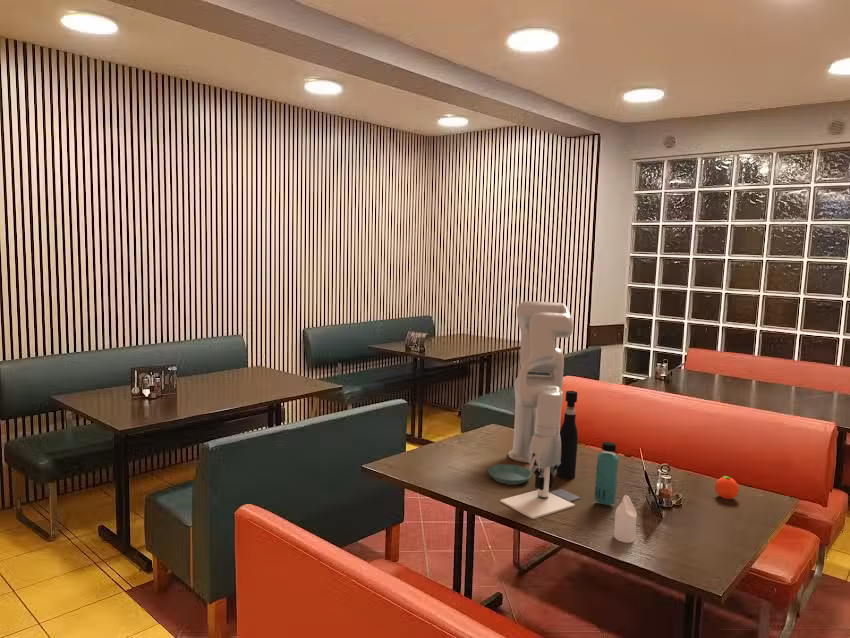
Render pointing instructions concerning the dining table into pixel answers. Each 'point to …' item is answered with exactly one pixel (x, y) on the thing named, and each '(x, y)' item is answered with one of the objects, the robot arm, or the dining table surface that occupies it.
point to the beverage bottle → (606, 475)
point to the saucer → (509, 474)
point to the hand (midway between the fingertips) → (543, 486)
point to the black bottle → (568, 440)
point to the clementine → (726, 487)
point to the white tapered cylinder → (625, 521)
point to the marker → (545, 484)
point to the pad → (536, 504)
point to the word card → (565, 495)
